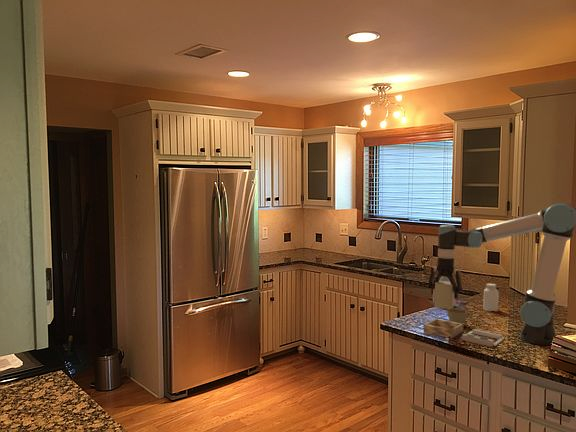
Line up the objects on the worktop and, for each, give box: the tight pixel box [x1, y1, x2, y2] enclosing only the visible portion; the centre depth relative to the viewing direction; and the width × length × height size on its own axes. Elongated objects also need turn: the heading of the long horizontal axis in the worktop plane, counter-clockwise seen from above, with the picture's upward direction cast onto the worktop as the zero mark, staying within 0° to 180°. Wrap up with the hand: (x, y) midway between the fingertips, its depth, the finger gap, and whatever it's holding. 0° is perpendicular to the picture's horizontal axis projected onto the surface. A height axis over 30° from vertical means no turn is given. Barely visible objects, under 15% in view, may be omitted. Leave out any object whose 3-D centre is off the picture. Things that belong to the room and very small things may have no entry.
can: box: [433, 281, 455, 310], centre depth 231 cm, size 9×9×12 cm
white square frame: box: [460, 329, 505, 348], centre depth 221 cm, size 15×15×3 cm
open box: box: [423, 318, 464, 339], centre depth 232 cm, size 14×14×4 cm
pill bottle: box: [482, 283, 500, 312], centre depth 274 cm, size 8×8×15 cm
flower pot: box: [446, 308, 468, 325], centre depth 244 cm, size 10×10×7 cm
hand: (444, 303), depth 231 cm, fingers closed on can, 9 cm apart
